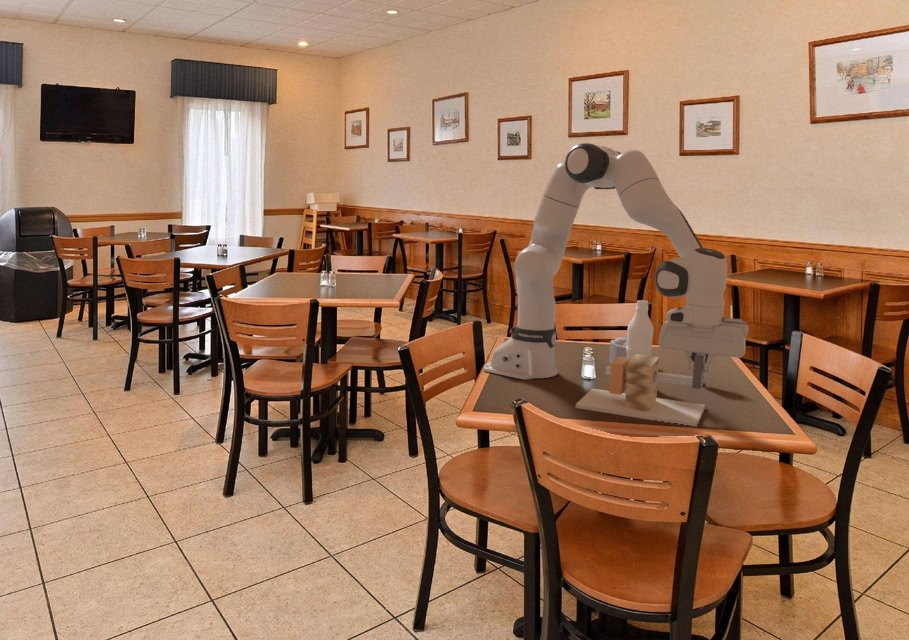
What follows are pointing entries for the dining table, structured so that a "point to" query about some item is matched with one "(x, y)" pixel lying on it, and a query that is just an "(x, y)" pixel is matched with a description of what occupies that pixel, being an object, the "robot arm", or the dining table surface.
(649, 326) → the water bottle
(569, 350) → the dining table surface
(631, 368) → the bearing block
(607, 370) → the shaft
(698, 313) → the robot arm
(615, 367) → the block
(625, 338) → the lumpy-topped squat cylinder
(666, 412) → the base board
